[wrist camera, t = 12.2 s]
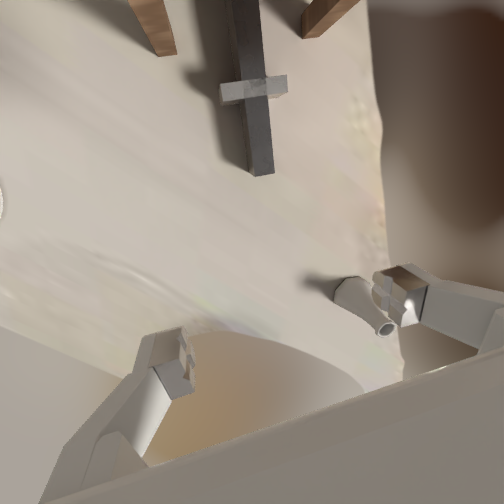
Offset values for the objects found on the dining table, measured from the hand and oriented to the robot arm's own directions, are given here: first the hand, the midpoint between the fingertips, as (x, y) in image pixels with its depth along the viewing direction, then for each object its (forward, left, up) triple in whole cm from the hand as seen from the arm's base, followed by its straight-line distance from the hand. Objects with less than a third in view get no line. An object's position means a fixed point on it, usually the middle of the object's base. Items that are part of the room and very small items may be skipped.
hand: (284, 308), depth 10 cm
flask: (+19, -23, -25) cm, 39 cm away
